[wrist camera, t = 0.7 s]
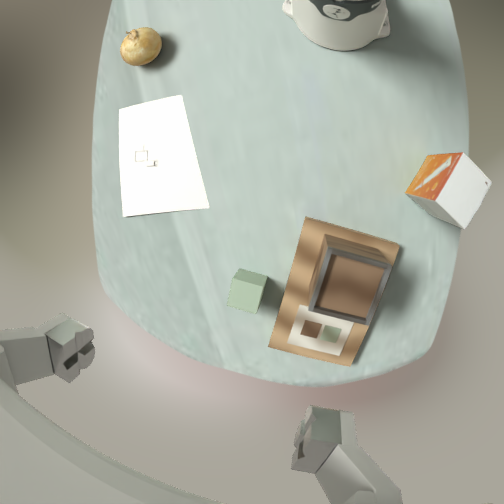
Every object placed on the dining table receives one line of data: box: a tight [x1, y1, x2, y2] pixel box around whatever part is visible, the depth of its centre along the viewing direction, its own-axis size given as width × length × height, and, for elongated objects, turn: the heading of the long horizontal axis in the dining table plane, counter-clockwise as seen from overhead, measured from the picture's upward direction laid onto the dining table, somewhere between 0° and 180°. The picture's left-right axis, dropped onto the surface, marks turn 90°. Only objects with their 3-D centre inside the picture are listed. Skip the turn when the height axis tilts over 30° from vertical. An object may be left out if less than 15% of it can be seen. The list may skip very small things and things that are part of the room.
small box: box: [405, 152, 492, 230], centre depth 35 cm, size 8×6×13 cm
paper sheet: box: [119, 95, 210, 217], centre depth 47 cm, size 24×29×1 cm
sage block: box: [227, 269, 268, 314], centre depth 49 cm, size 5×5×5 cm
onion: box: [120, 27, 162, 66], centre depth 40 cm, size 8×8×7 cm
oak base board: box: [268, 217, 399, 367], centre depth 44 cm, size 24×16×11 cm, turn 167°
